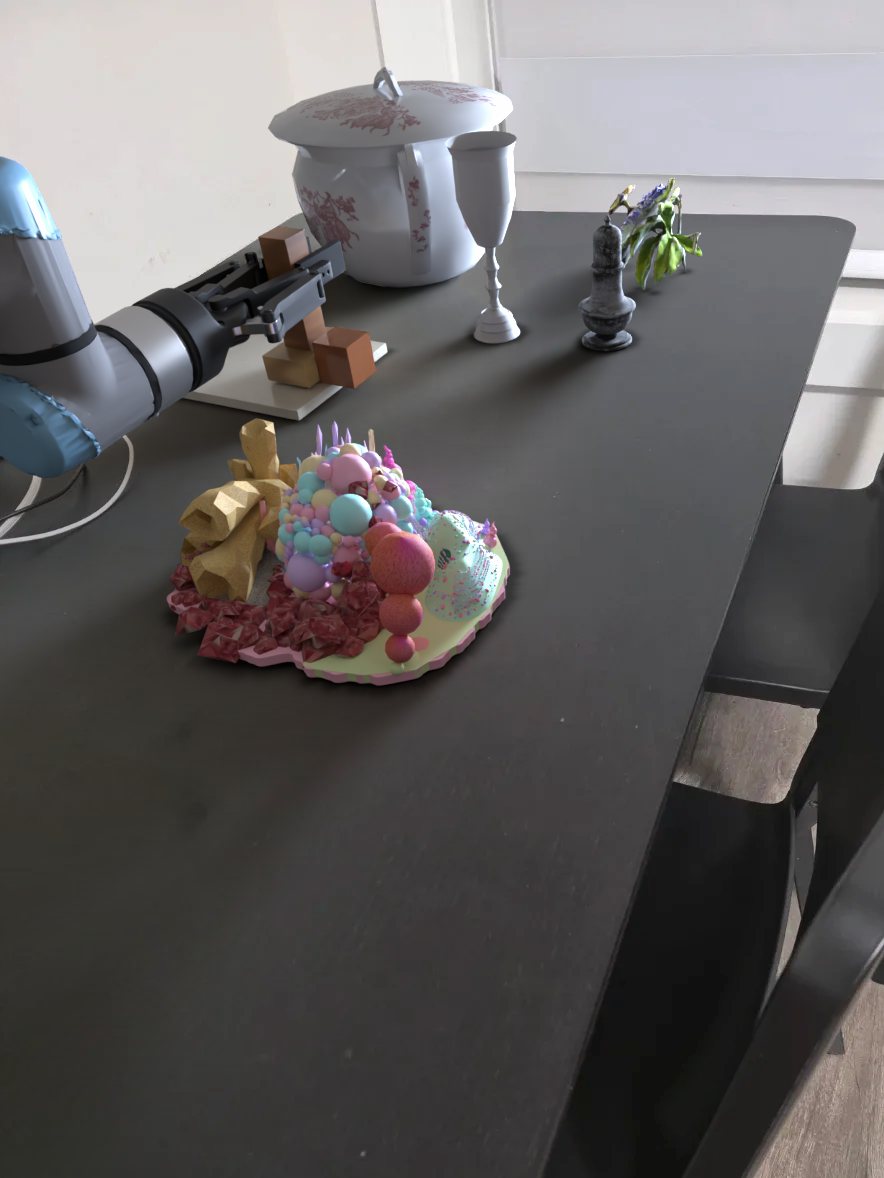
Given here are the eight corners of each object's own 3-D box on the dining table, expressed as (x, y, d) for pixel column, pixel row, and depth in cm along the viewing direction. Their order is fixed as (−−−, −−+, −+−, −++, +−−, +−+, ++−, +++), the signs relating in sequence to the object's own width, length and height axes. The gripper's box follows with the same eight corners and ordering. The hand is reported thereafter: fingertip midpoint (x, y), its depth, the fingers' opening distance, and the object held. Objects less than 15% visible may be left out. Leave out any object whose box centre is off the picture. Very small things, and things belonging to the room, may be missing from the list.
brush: (268, 380, 89) (231, 244, 80) (314, 347, 94) (285, 216, 85) (309, 388, 87) (276, 250, 78) (354, 354, 92) (328, 221, 83)
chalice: (465, 322, 100) (445, 133, 87) (526, 317, 100) (514, 128, 87) (466, 349, 94) (444, 153, 82) (530, 344, 95) (518, 148, 82)
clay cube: (320, 383, 88) (311, 342, 86) (343, 366, 91) (334, 326, 88) (354, 389, 87) (346, 348, 84) (376, 371, 90) (369, 331, 87)
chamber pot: (381, 223, 125) (352, 40, 110) (559, 243, 116) (552, 46, 101) (254, 297, 108) (199, 91, 93) (451, 327, 99) (424, 104, 84)
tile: (125, 386, 92) (121, 377, 92) (224, 326, 102) (221, 317, 102) (299, 420, 85) (296, 411, 84) (387, 352, 95) (386, 342, 94)
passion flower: (622, 313, 113) (613, 211, 111) (709, 297, 110) (702, 192, 108) (605, 289, 102) (595, 175, 100) (702, 270, 99) (693, 152, 97)
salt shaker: (573, 350, 93) (570, 224, 84) (585, 327, 97) (583, 204, 88) (629, 353, 92) (632, 225, 83) (639, 330, 96) (642, 205, 87)
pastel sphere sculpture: (118, 665, 61) (60, 553, 55) (254, 483, 77) (222, 380, 71) (471, 699, 57) (454, 582, 51) (538, 499, 73) (532, 391, 67)
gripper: (104, 381, 78) (268, 284, 93) (251, 410, 73) (400, 302, 87) (67, 292, 73) (247, 203, 87) (223, 316, 68) (387, 218, 82)
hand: (323, 253), depth 87 cm, fingers closed on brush, 3 cm apart
